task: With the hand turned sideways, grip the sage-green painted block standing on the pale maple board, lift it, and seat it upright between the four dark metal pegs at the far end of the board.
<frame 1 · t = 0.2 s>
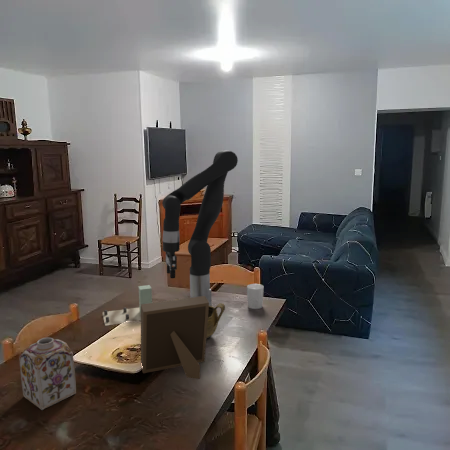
hand: (170, 275, 195), 18 cm above the table, tool pointing down, fingers open, 8 cm apart
white cup: (255, 306, 204), on the table
green block: (146, 312, 194), point 1 cm above the table, touching peg board
photo frame: (177, 372, 145), on the table
peg board: (131, 318, 192), on the table
decorative jar: (49, 396, 132), on the table
ceramic bowl: (197, 338, 171), on the table
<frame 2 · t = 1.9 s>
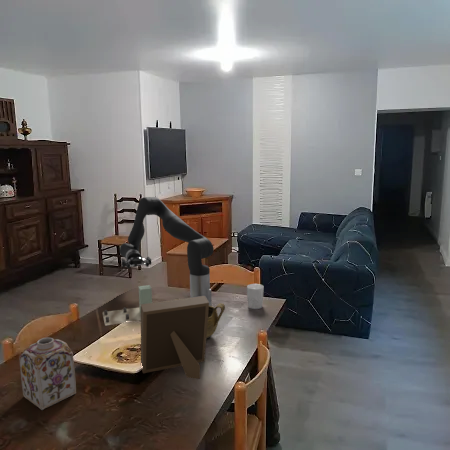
hand: (138, 265, 207), 19 cm above the table, tool horizontal, fingers open, 8 cm apart
nothing on the table moved.
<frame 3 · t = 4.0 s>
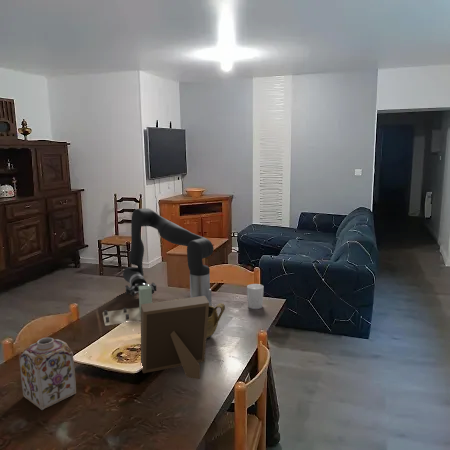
hand: (143, 293, 199), 9 cm above the table, tool horizontal, fingers open, 8 cm apart
nothing on the table moved.
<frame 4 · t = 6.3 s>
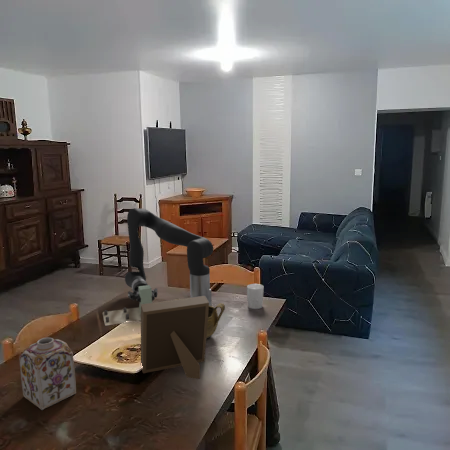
hand: (146, 299, 190), 9 cm above the table, tool horizontal, fingers closed on green block, 5 cm apart
green block: (146, 312, 194), point 1 cm above the table, touching gripper, peg board
everything else where it was.
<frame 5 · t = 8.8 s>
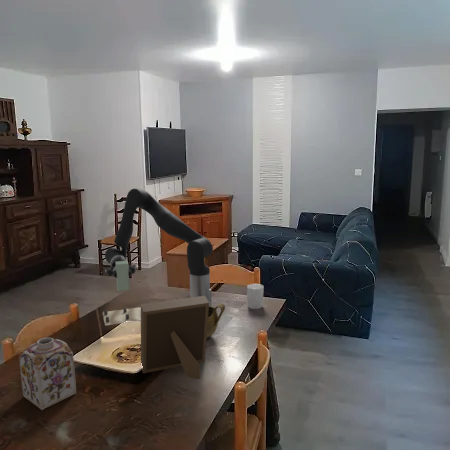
hand: (122, 274, 185), 21 cm above the table, tool horizontal, fingers closed on green block, 5 cm apart
green block: (123, 288, 189), point 14 cm above the table, touching gripper
everything else where it was.
when the fingers open (10 cm above the table, at t = 11.8 s): green block stays where it is, resting on peg board.
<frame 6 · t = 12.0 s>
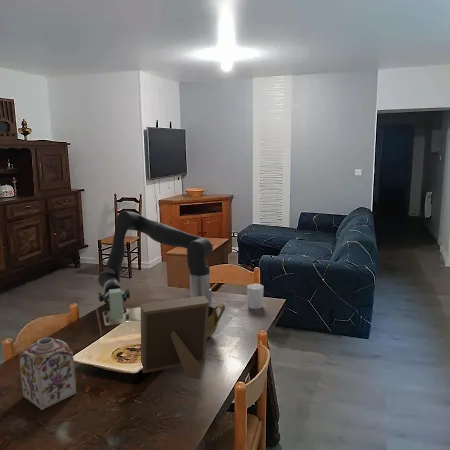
hand: (116, 300, 186), 10 cm above the table, tool horizontal, fingers open, 6 cm apart
green block: (116, 316, 190), point 1 cm above the table, touching peg board
everything else where it was.
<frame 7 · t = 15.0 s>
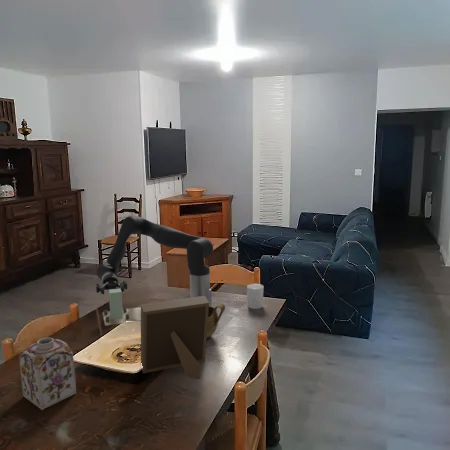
hand: (113, 291, 198), 10 cm above the table, tool horizontal, fingers open, 8 cm apart
nothing on the table moved.
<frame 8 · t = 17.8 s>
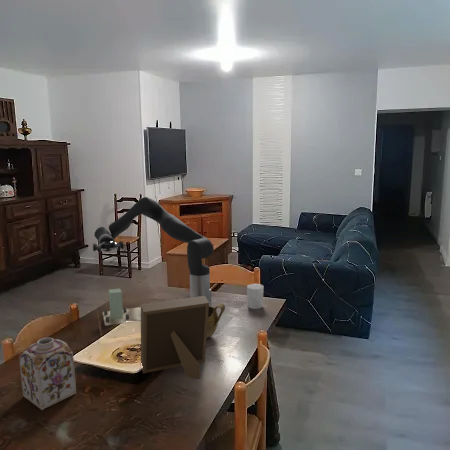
hand: (109, 249, 202), 28 cm above the table, tool horizontal, fingers open, 8 cm apart
nothing on the table moved.
at the end: green block 0.0 cm from the target spot on the peg board, point 1.5 cm above the peg board's base; green block tilted 0°; the gripper is holding nothing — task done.
